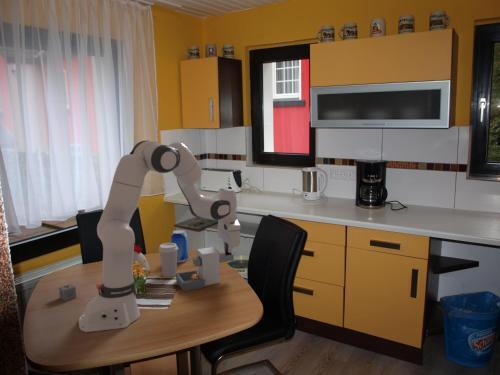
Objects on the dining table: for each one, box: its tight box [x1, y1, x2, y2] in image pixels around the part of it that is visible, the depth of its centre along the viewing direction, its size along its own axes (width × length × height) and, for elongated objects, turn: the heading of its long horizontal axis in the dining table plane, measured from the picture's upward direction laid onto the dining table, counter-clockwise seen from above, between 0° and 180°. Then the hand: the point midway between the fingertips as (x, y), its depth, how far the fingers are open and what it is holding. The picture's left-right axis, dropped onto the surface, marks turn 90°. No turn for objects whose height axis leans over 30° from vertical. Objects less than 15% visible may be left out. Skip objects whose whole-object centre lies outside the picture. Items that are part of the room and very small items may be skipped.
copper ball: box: [191, 273, 199, 281], centre depth 194 cm, size 4×4×4 cm
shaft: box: [192, 242, 235, 267], centre depth 196 cm, size 18×4×8 cm, turn 114°
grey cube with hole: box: [58, 283, 77, 302], centre depth 181 cm, size 5×5×5 cm
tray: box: [175, 269, 206, 293], centre depth 193 cm, size 10×13×4 cm
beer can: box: [170, 229, 189, 264], centre depth 224 cm, size 8×8×16 cm
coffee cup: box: [157, 242, 178, 278], centre depth 204 cm, size 10×10×15 cm
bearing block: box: [196, 246, 221, 286], centre depth 196 cm, size 8×8×15 cm
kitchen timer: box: [133, 244, 151, 273], centre depth 207 cm, size 14×14×15 cm
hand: (228, 250), depth 199 cm, fingers closed on shaft, 3 cm apart
